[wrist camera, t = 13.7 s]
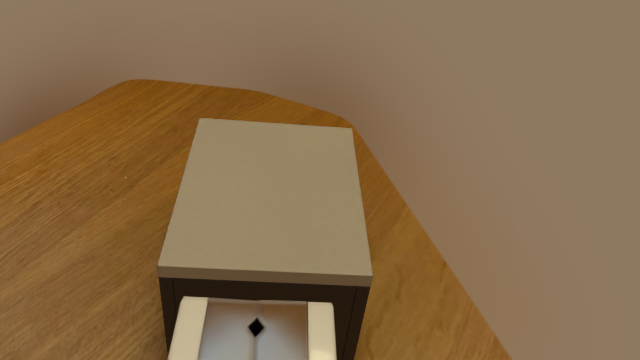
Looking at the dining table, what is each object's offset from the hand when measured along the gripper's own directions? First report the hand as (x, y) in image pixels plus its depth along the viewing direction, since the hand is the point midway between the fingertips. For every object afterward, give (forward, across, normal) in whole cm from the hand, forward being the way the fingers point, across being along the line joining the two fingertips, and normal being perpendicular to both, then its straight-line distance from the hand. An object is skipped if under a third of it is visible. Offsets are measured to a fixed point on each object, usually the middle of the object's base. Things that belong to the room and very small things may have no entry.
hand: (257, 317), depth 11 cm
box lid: (+23, 0, +16) cm, 28 cm away
